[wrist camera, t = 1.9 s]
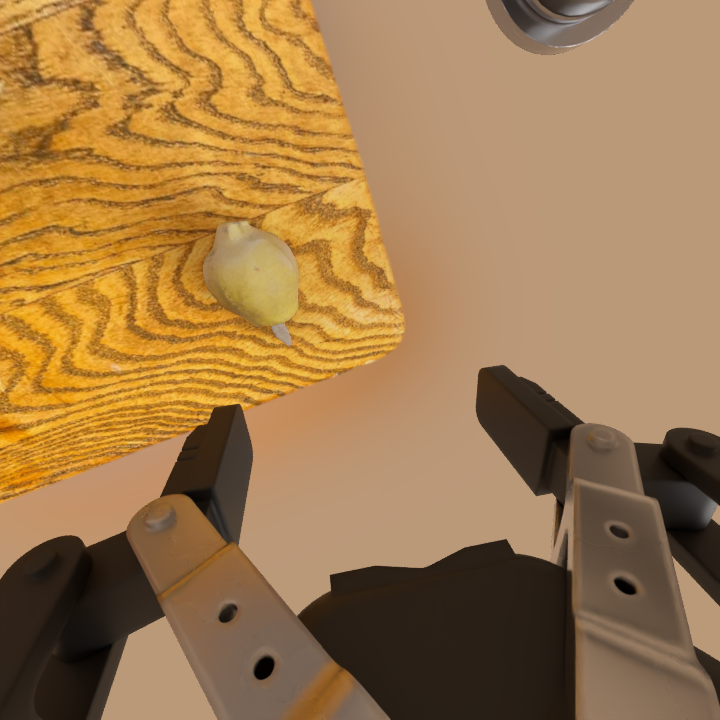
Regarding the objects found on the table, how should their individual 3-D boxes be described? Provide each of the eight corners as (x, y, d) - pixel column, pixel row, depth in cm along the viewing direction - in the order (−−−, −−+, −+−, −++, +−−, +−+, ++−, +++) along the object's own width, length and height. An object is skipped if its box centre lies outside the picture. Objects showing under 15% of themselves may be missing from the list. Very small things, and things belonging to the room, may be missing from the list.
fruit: (256, 353, 29) (175, 241, 23) (316, 314, 30) (253, 198, 25) (275, 384, 25) (180, 255, 19) (346, 337, 26) (276, 201, 20)
